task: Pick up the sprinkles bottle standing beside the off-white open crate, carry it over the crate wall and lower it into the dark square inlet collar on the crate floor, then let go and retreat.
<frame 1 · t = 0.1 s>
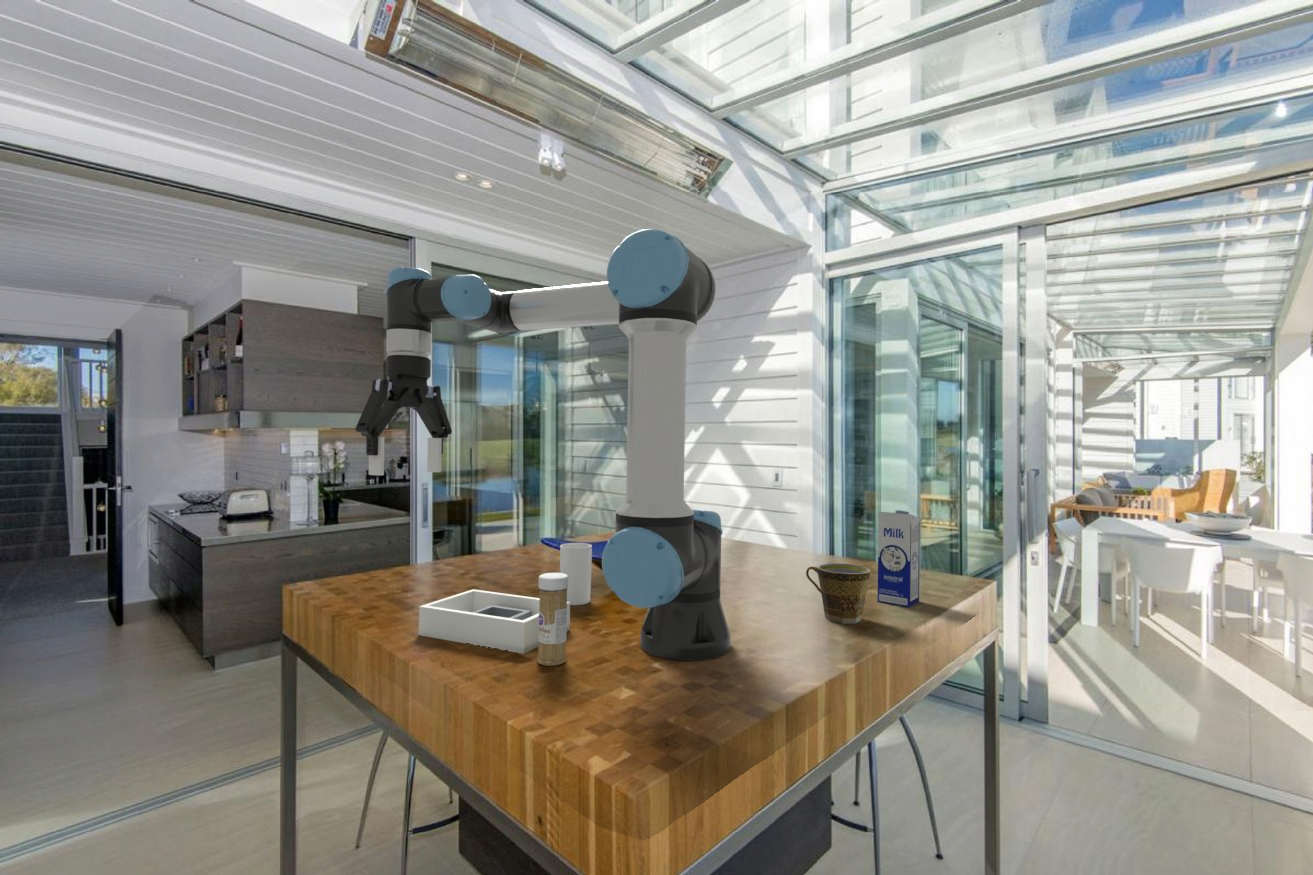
hand: (406, 473, 111), 28 cm above the table, tool pointing down, fingers open, 13 cm apart
milk carton: (898, 602, 135), on the table
sprinkles bottle: (552, 662, 95), on the table
ceramic cup: (835, 618, 122), on the table
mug: (575, 600, 133), on the table
crate: (495, 632, 109), on the table
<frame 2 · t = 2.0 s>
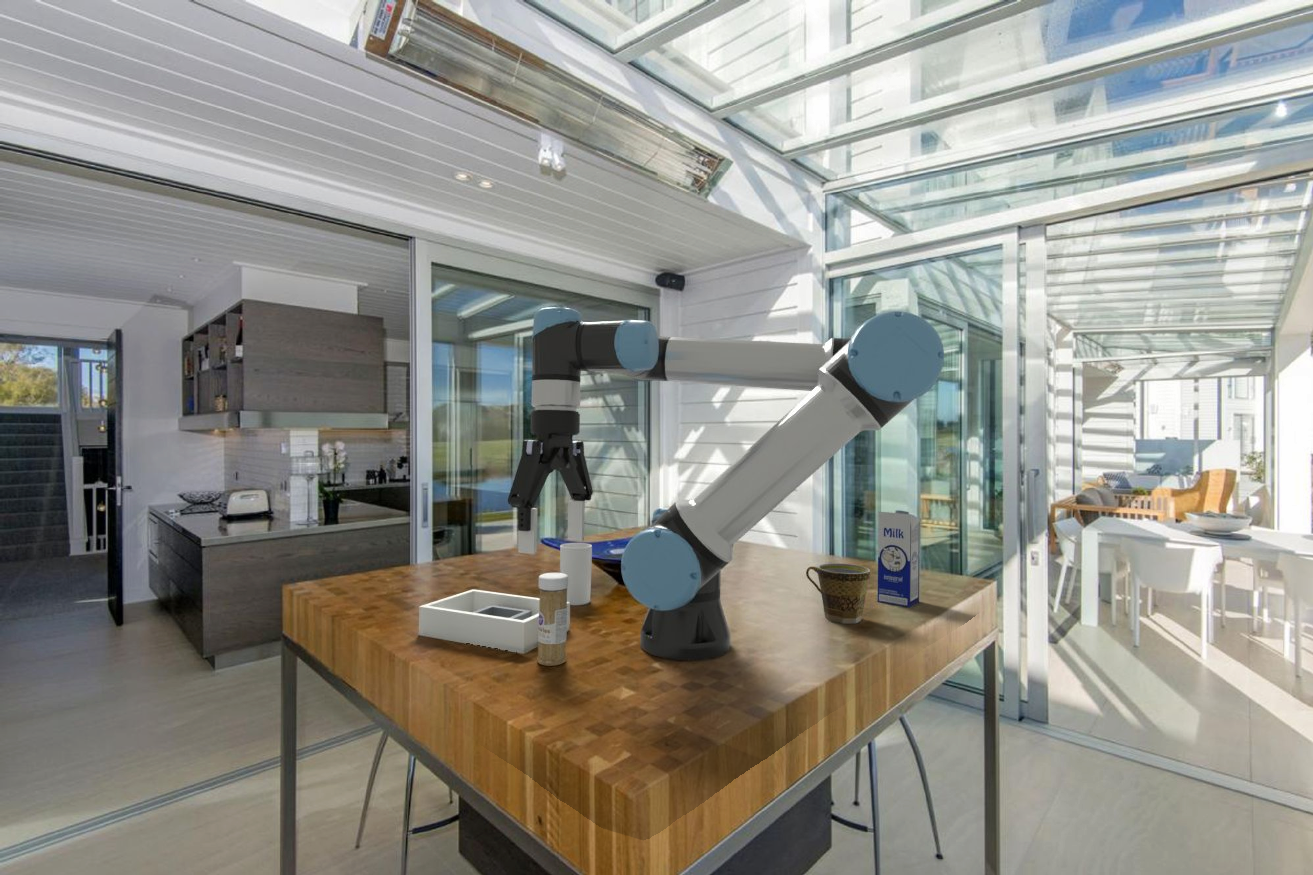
hand: (553, 546, 96), 18 cm above the table, tool pointing down, fingers open, 13 cm apart
nothing on the table moved.
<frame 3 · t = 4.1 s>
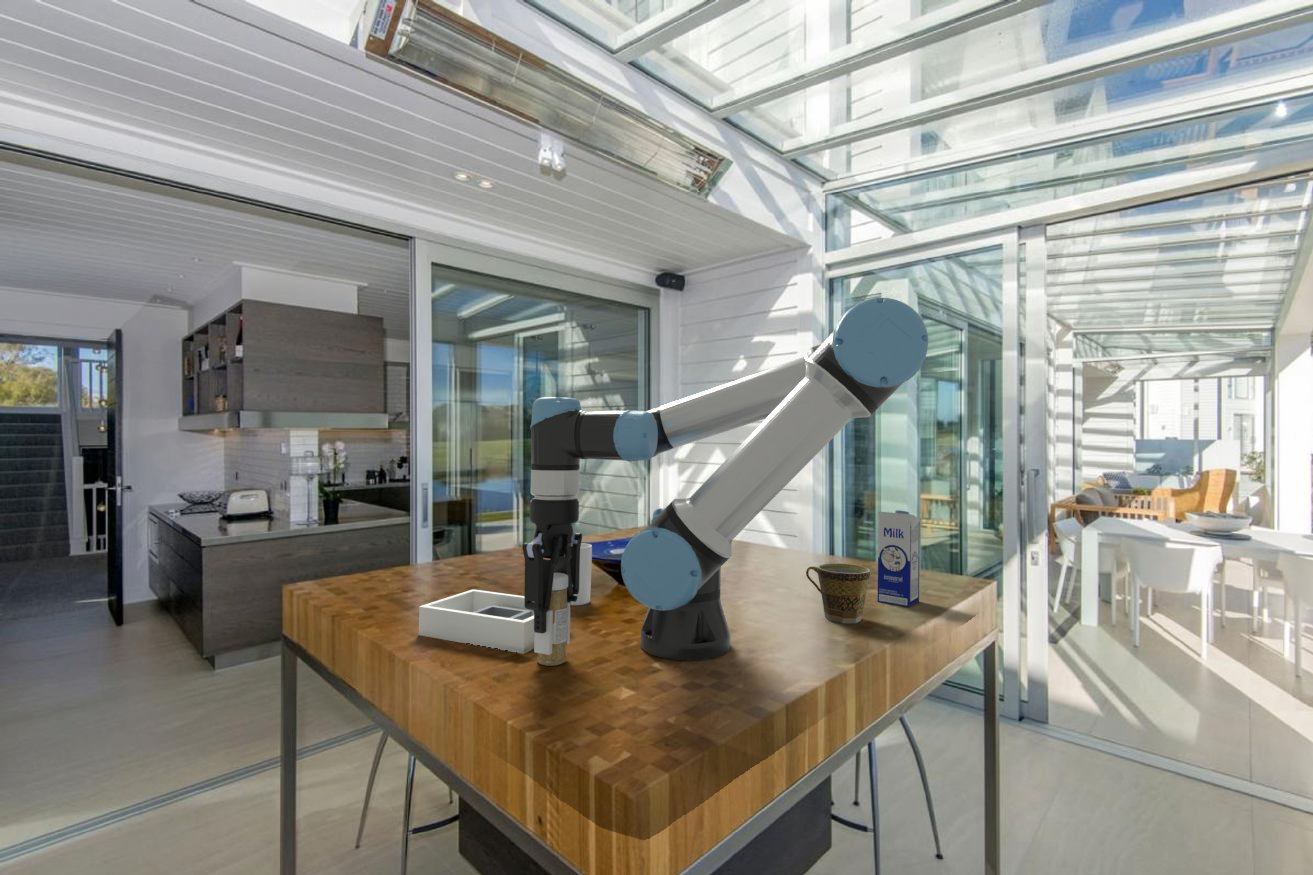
hand: (552, 647, 95), 2 cm above the table, tool pointing down, fingers closed on sprinkles bottle, 4 cm apart
sprinkles bottle: (552, 662, 95), on the table, touching gripper
everything else where it was.
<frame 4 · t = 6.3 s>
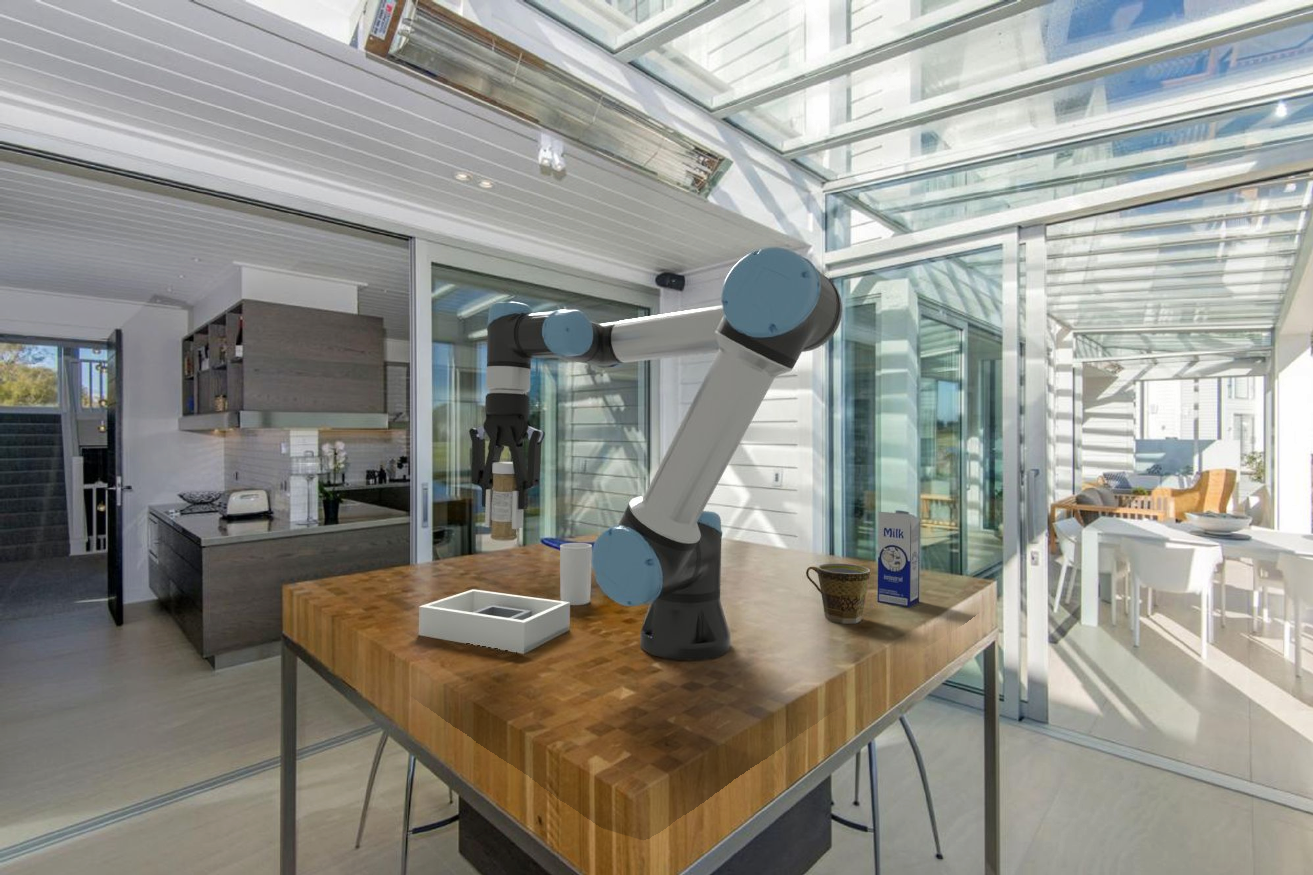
hand: (504, 526, 107), 19 cm above the table, tool pointing down, fingers closed on sprinkles bottle, 4 cm apart
sprinkles bottle: (503, 540, 107), point 17 cm above the table, touching gripper
everything else where it was.
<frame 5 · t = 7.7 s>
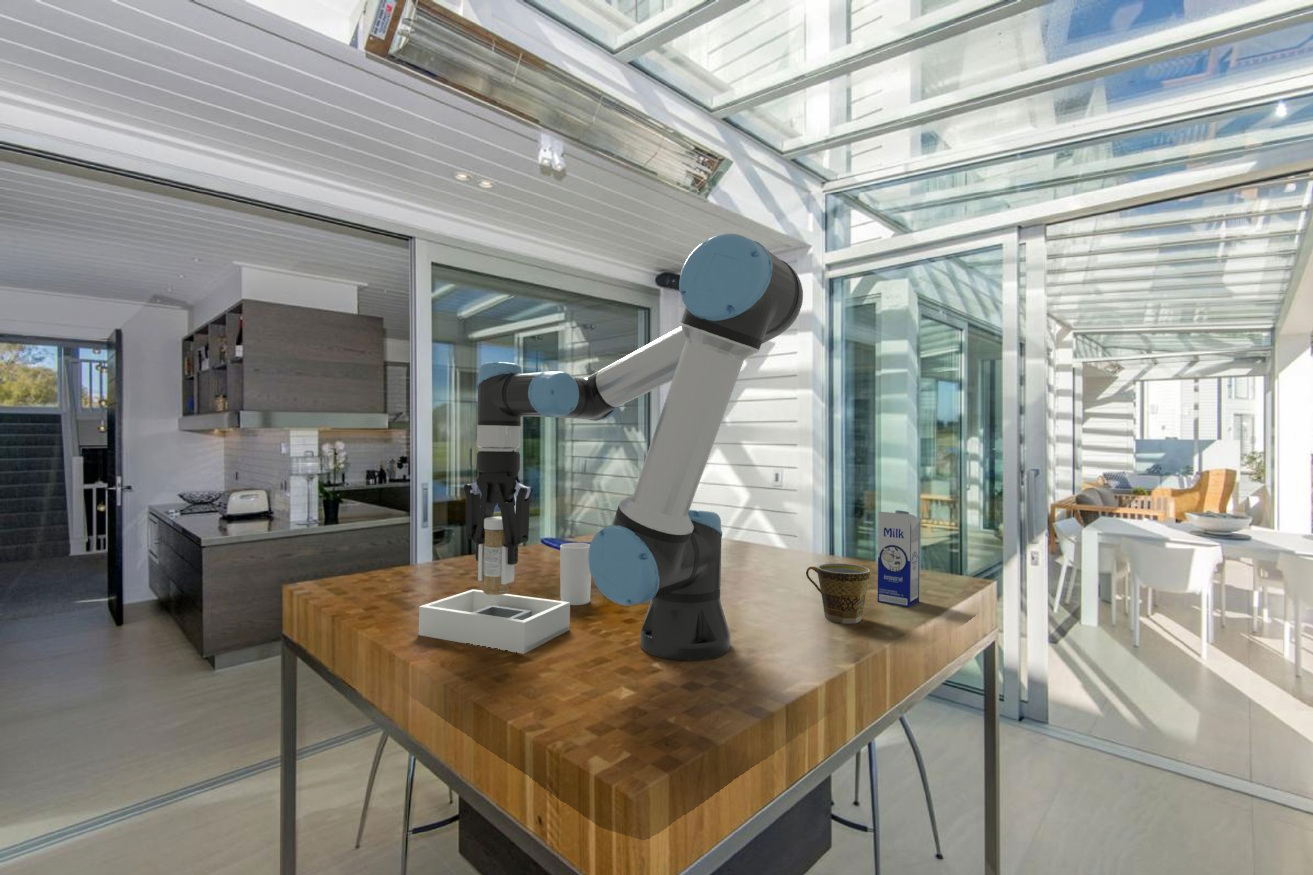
hand: (496, 580, 110), 9 cm above the table, tool pointing down, fingers closed on sprinkles bottle, 4 cm apart
sprinkles bottle: (495, 594, 110), point 7 cm above the table, touching gripper
everything else where it was.
when the fingers open (5 cm above the table, at t = 8.9 s): sprinkles bottle drops 2 cm, resting on crate.
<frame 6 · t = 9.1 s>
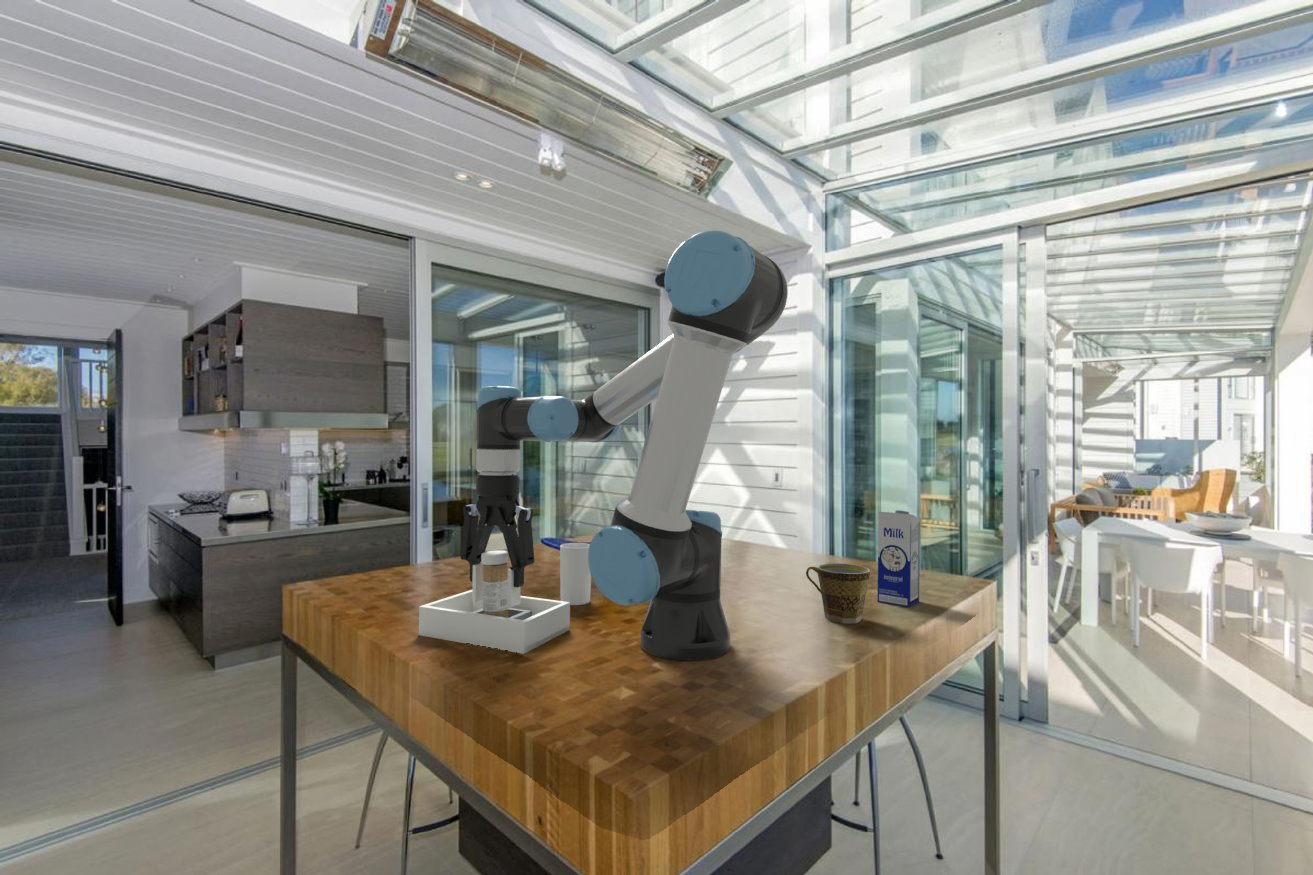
hand: (496, 602, 109), 5 cm above the table, tool pointing down, fingers open, 7 cm apart
sprinkles bottle: (496, 628, 109), point 1 cm above the table, touching crate
everything else where it was.
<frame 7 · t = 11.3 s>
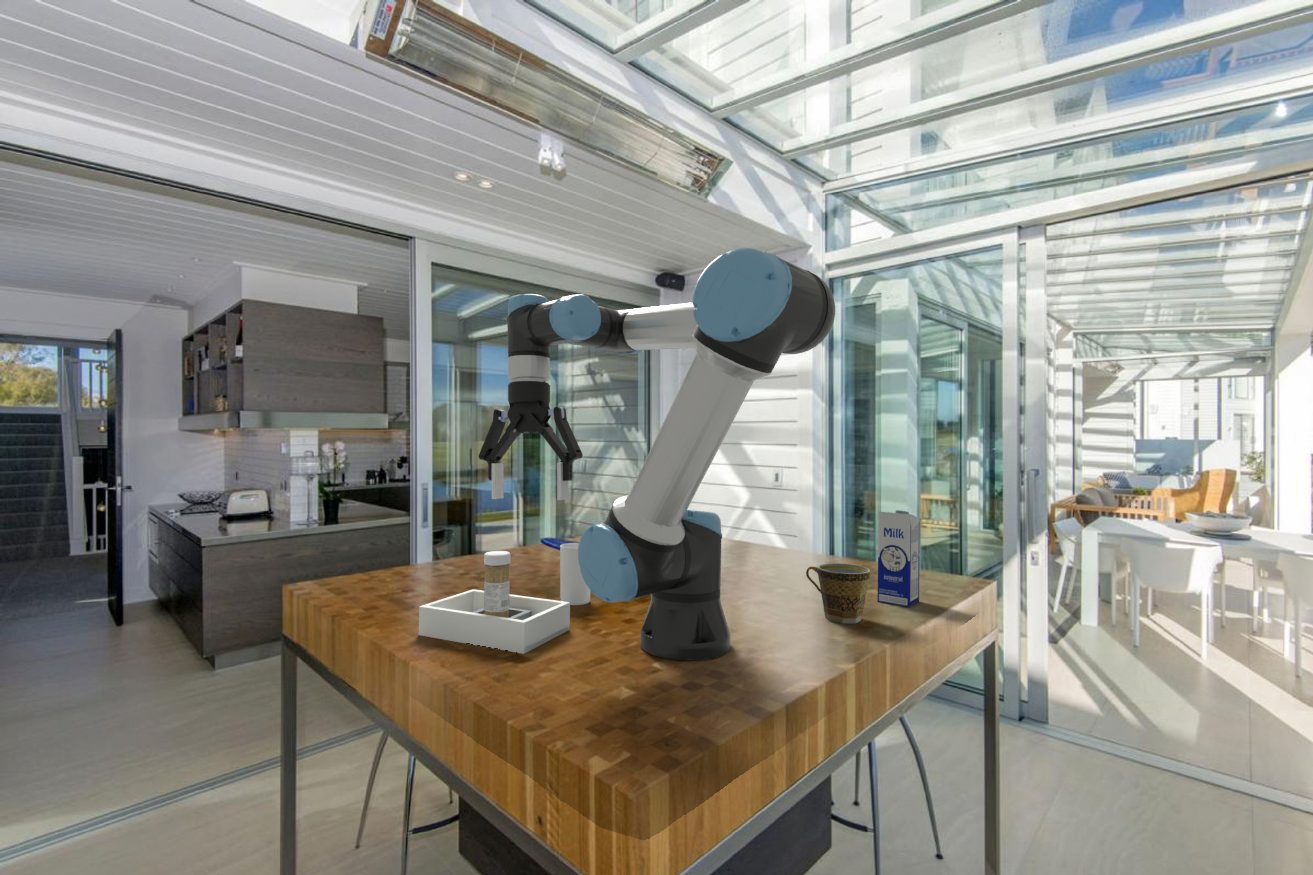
hand: (529, 499, 111), 24 cm above the table, tool pointing down, fingers open, 13 cm apart
nothing on the table moved.
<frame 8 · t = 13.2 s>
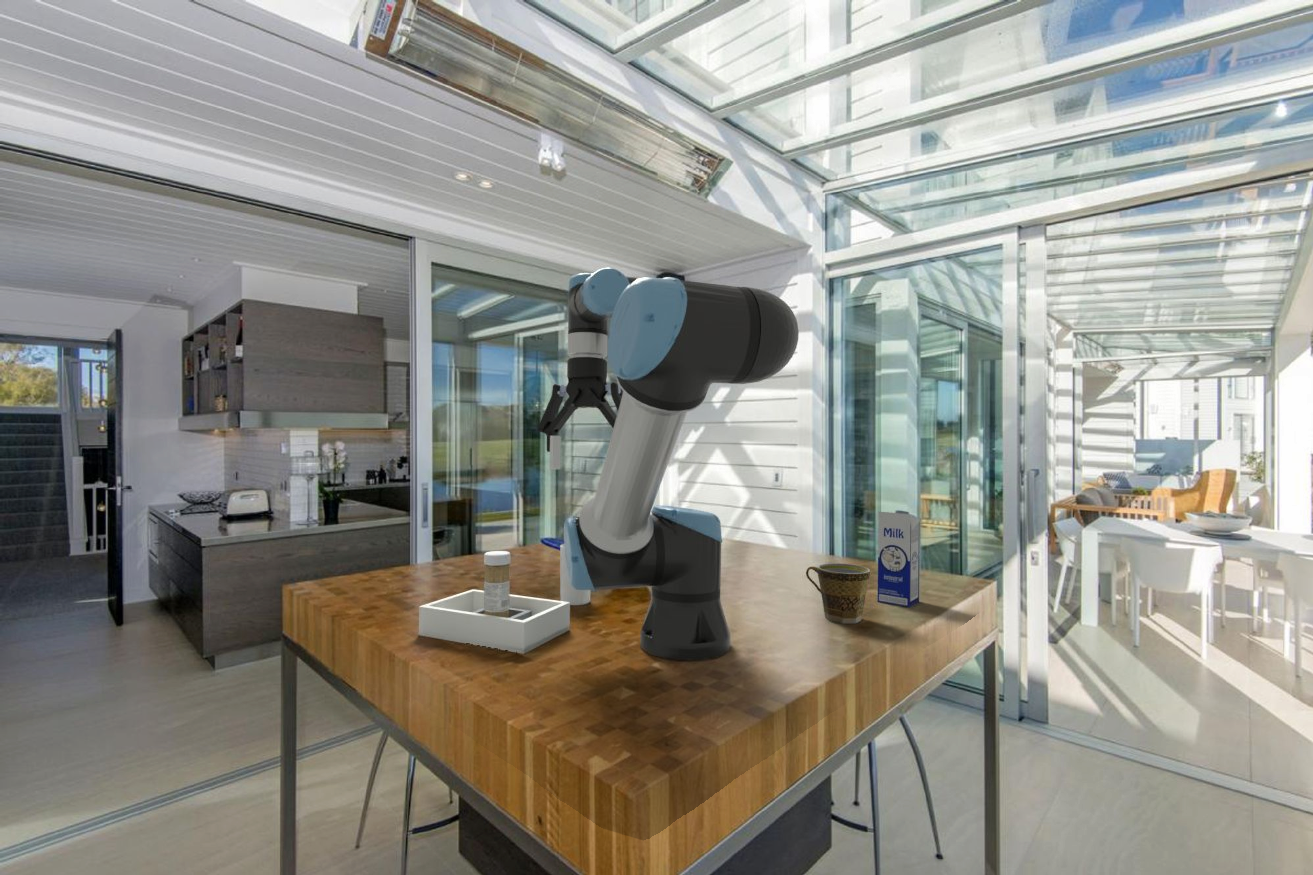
hand: (585, 470, 116), 29 cm above the table, tool pointing down, fingers open, 13 cm apart
nothing on the table moved.
at the end: sprinkles bottle 0.1 cm off-centre on the crate, point 0.6 cm above the crate's base; sprinkles bottle tilted 0°; the gripper is holding nothing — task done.
